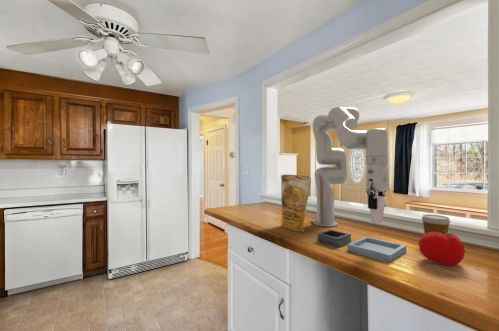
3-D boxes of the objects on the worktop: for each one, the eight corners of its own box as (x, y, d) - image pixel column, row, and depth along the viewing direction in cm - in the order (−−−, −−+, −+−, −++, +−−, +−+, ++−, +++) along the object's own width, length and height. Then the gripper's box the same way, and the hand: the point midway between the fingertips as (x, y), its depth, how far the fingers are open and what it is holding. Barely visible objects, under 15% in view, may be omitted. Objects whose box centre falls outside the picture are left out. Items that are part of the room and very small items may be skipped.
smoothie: (383, 220, 99) (383, 184, 99) (388, 224, 92) (388, 186, 92) (365, 219, 100) (365, 184, 100) (370, 223, 94) (370, 186, 94)
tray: (347, 250, 97) (347, 244, 97) (366, 242, 107) (366, 236, 107) (390, 262, 86) (390, 255, 86) (406, 251, 96) (406, 245, 95)
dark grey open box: (317, 241, 109) (317, 233, 109) (330, 237, 115) (330, 229, 115) (338, 247, 101) (338, 238, 101) (351, 242, 108) (351, 234, 108)
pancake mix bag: (285, 223, 140) (285, 174, 140) (312, 231, 125) (311, 175, 125) (276, 225, 137) (276, 174, 136) (302, 233, 121) (302, 175, 121)
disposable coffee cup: (420, 241, 108) (420, 213, 108) (448, 244, 104) (448, 215, 103) (422, 247, 100) (422, 217, 100) (452, 251, 95) (452, 220, 95)
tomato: (450, 272, 77) (450, 238, 77) (410, 258, 89) (411, 229, 89) (474, 265, 83) (474, 233, 83) (434, 253, 94) (434, 225, 94)
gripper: (376, 160, 88) (376, 212, 88) (396, 160, 99) (396, 206, 99) (356, 161, 93) (356, 209, 94) (376, 161, 104) (376, 204, 105)
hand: (376, 207), depth 96 cm, fingers closed on smoothie, 6 cm apart
